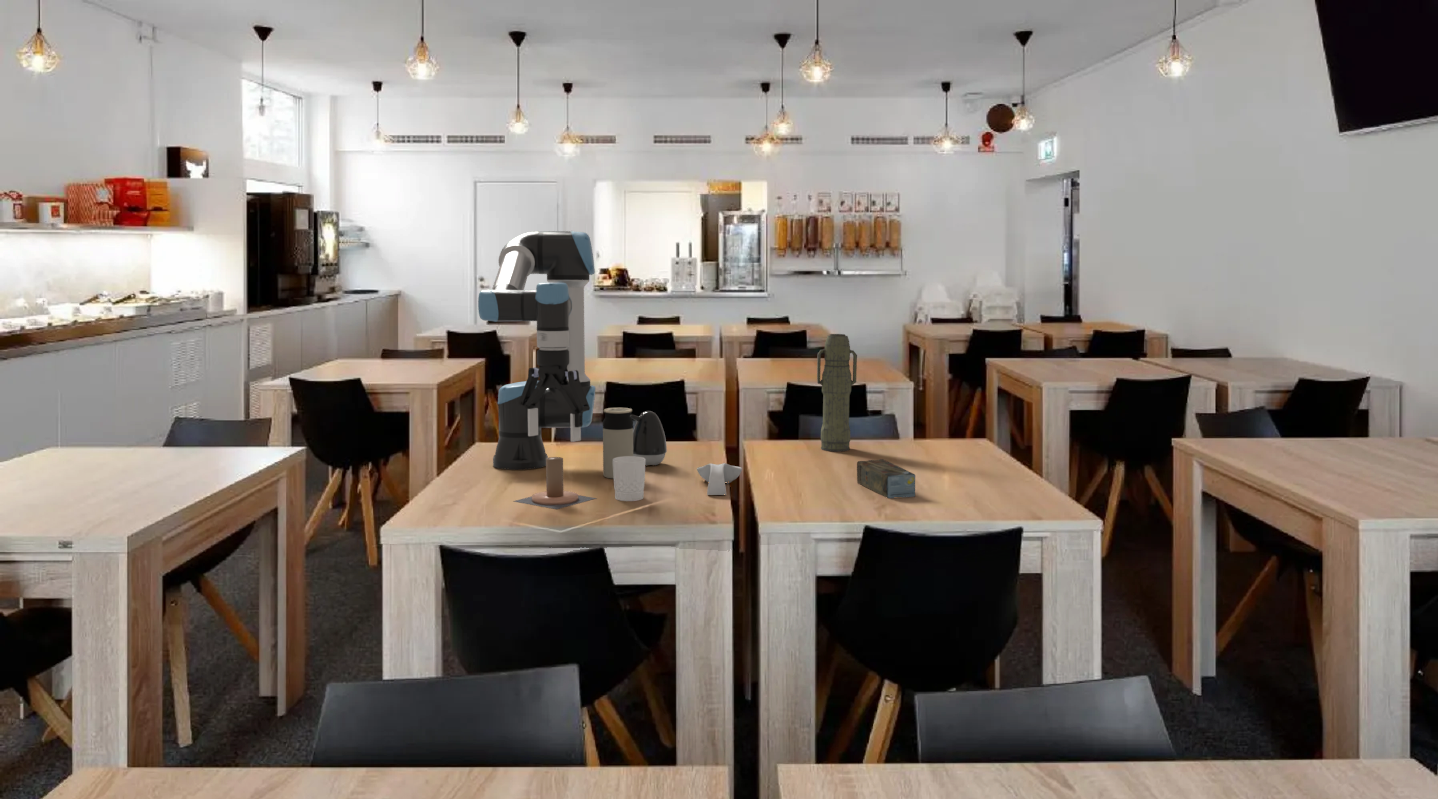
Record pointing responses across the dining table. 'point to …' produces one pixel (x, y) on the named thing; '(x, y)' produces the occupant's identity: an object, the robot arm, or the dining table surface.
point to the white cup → (629, 478)
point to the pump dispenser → (649, 438)
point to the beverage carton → (886, 478)
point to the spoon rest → (718, 476)
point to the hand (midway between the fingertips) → (554, 438)
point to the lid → (554, 485)
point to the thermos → (836, 392)
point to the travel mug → (616, 437)
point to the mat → (580, 500)
